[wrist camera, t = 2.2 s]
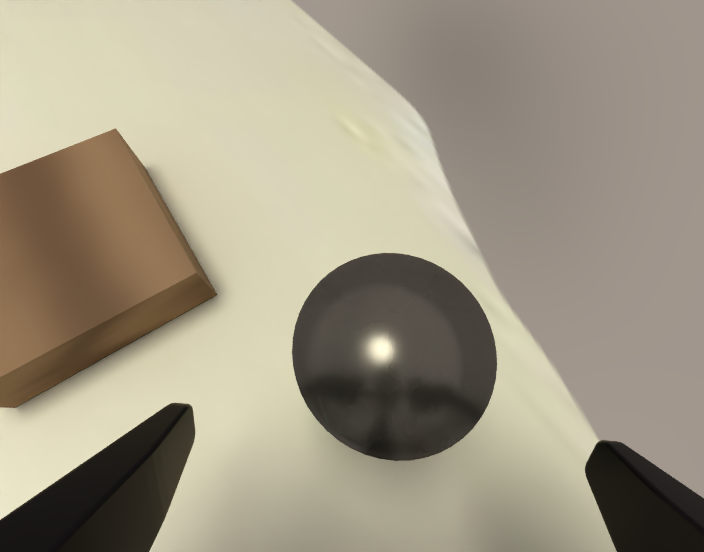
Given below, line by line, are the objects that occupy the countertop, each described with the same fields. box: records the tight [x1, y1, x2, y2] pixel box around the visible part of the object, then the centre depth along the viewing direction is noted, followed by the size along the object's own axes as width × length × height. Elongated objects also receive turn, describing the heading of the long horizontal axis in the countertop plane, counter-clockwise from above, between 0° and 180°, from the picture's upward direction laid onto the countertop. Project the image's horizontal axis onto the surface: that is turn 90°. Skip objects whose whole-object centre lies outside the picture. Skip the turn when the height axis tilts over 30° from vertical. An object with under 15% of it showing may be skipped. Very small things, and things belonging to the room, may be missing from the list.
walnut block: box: [0, 129, 217, 408], centre depth 17 cm, size 10×10×3 cm
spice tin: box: [292, 253, 497, 461], centre depth 13 cm, size 5×5×9 cm
